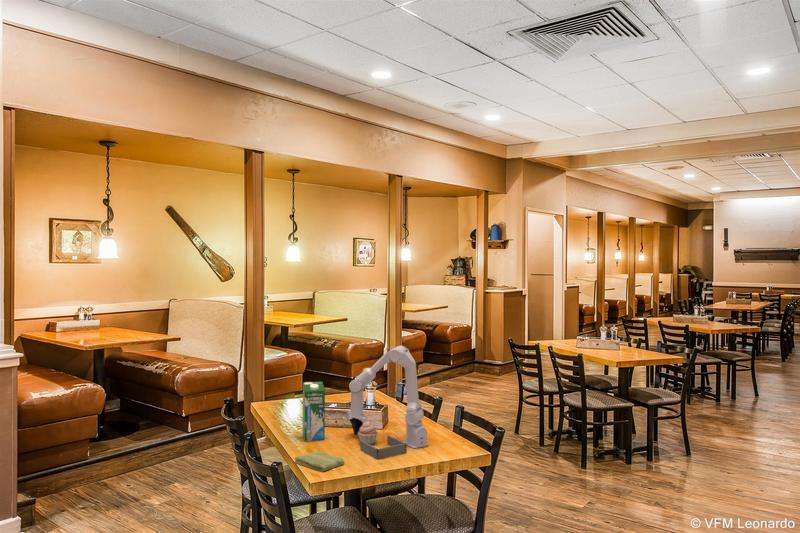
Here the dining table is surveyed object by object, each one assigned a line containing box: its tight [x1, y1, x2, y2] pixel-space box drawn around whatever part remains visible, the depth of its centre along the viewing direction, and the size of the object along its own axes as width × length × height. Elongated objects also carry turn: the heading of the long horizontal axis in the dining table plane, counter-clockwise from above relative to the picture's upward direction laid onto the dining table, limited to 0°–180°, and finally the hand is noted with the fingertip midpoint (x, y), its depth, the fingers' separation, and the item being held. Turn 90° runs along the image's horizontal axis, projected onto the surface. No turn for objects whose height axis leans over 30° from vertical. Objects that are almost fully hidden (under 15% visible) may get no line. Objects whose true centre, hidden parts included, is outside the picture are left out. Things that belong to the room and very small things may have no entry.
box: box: [359, 434, 408, 460], centre depth 244 cm, size 14×15×4 cm
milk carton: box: [302, 381, 326, 442], centre depth 261 cm, size 9×9×25 cm
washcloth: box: [294, 451, 345, 473], centre depth 229 cm, size 13×18×3 cm
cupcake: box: [357, 420, 379, 446], centre depth 254 cm, size 9×9×10 cm
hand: (356, 434), depth 262 cm, fingers closed
